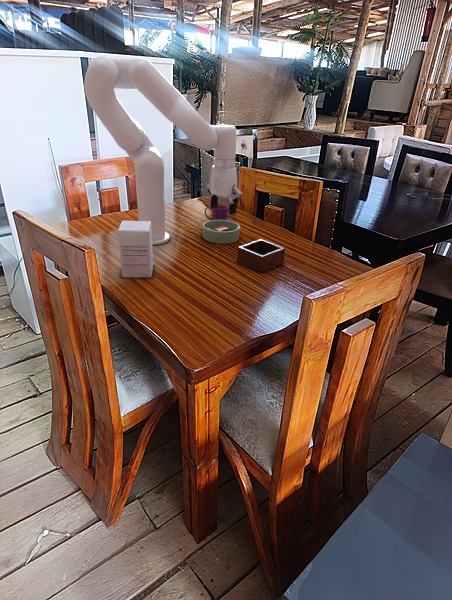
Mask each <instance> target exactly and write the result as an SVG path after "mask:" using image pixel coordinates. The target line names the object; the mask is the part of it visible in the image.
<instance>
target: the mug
mask: <svg viewBox="0 0 452 600" xmlns="http://www.w3.org/2000/svg"><path fill="white" fill-rule="evenodd" d="M208 209H211V212H212V213H211V215H212V216H208V214H207V210H208ZM204 215H205V217H206V218H207V219H209V220H210V221H211V220H228V221H229V205H226V204H218V207H217V208H213V209H212V208H211V206H206V207H205V209H204Z"/></svg>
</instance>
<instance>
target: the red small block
mask: <svg viewBox="0 0 452 600" xmlns="http://www.w3.org/2000/svg"><path fill="white" fill-rule="evenodd" d="M214 231H220V232H228V231H229V228H227V227H225V226H220V227H217V228H214Z"/></svg>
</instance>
